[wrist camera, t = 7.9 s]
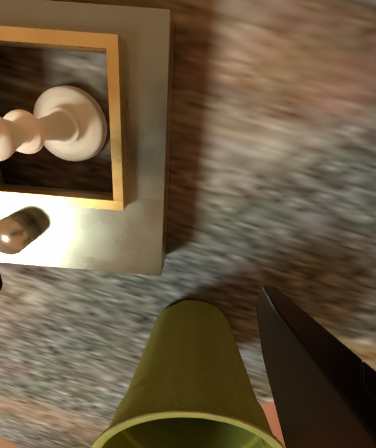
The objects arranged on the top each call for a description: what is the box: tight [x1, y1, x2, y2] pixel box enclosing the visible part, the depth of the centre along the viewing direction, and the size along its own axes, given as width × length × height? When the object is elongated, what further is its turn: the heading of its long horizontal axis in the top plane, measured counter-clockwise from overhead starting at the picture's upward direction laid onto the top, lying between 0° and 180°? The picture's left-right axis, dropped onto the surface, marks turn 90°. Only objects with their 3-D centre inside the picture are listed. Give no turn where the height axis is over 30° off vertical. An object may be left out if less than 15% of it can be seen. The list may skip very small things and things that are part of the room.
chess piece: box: [0, 85, 107, 161], centre depth 14 cm, size 5×5×10 cm
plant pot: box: [92, 300, 284, 448], centre depth 20 cm, size 12×12×11 cm
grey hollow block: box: [0, 0, 176, 276], centre depth 17 cm, size 14×16×5 cm
